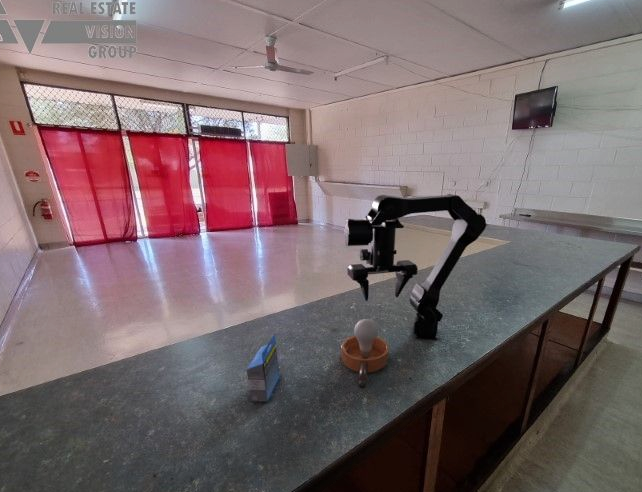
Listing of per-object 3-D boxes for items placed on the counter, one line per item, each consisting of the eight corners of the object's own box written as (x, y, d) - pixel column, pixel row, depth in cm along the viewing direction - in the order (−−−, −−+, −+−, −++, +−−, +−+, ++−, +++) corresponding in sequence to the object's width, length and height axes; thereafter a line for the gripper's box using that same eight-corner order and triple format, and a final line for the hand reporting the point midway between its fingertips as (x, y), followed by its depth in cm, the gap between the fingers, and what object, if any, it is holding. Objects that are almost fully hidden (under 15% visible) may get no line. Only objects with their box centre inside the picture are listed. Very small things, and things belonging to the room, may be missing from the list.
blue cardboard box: (264, 375, 76) (259, 330, 72) (280, 376, 76) (276, 331, 72) (250, 401, 68) (243, 352, 63) (268, 402, 68) (262, 353, 63)
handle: (367, 366, 77) (367, 359, 77) (366, 390, 69) (366, 383, 68) (360, 365, 77) (360, 359, 77) (357, 390, 69) (358, 383, 68)
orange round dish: (387, 348, 89) (388, 335, 88) (388, 374, 78) (389, 361, 76) (344, 346, 89) (344, 333, 88) (339, 372, 78) (339, 359, 77)
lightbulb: (380, 353, 85) (381, 317, 81) (372, 366, 80) (374, 327, 76) (358, 349, 87) (359, 313, 83) (350, 361, 82) (350, 323, 78)
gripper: (402, 236, 94) (399, 285, 99) (341, 239, 88) (342, 291, 93) (420, 245, 84) (416, 299, 89) (354, 249, 78) (353, 307, 83)
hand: (381, 298), depth 89 cm, fingers open, 9 cm apart
